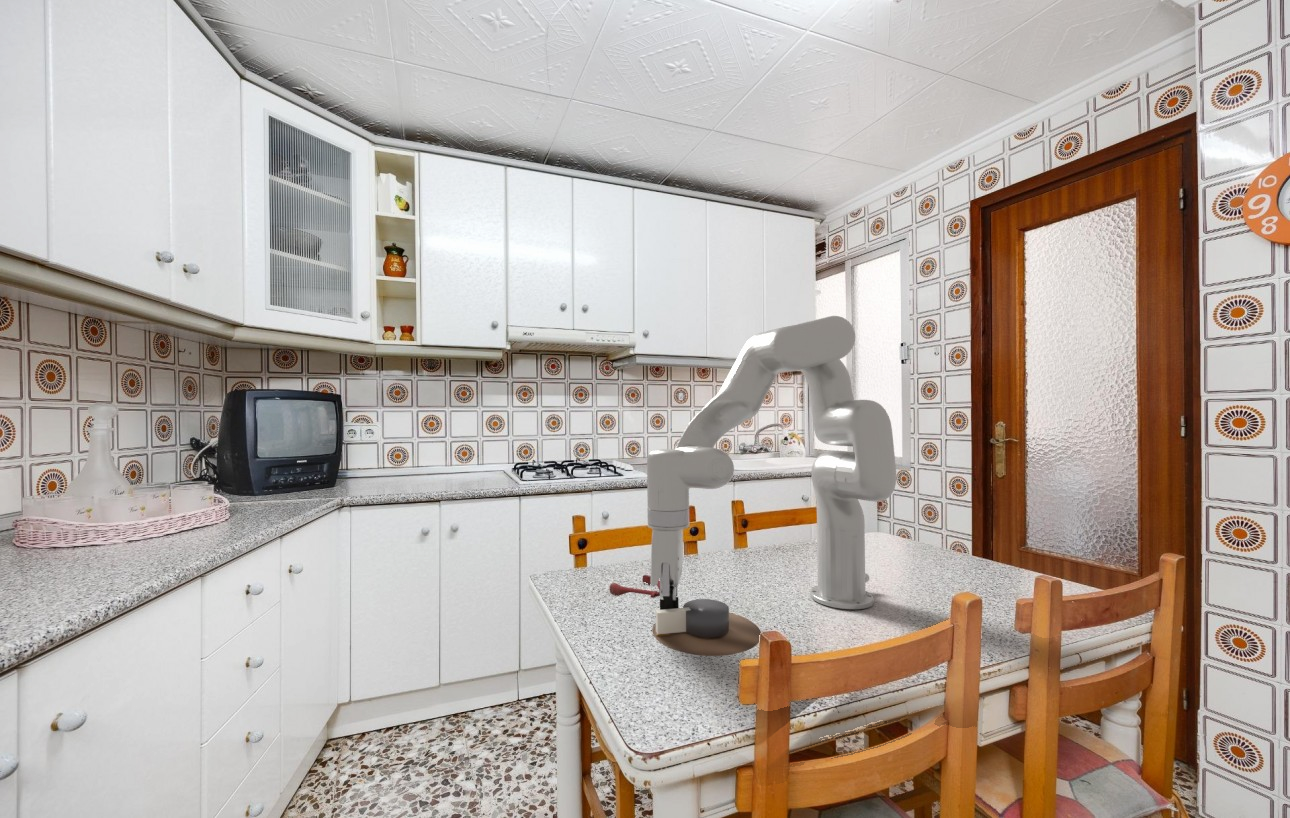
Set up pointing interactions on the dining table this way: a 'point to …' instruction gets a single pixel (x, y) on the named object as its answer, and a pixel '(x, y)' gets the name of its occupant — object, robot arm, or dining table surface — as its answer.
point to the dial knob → (695, 619)
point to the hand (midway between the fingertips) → (669, 620)
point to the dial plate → (715, 639)
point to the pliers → (621, 590)
